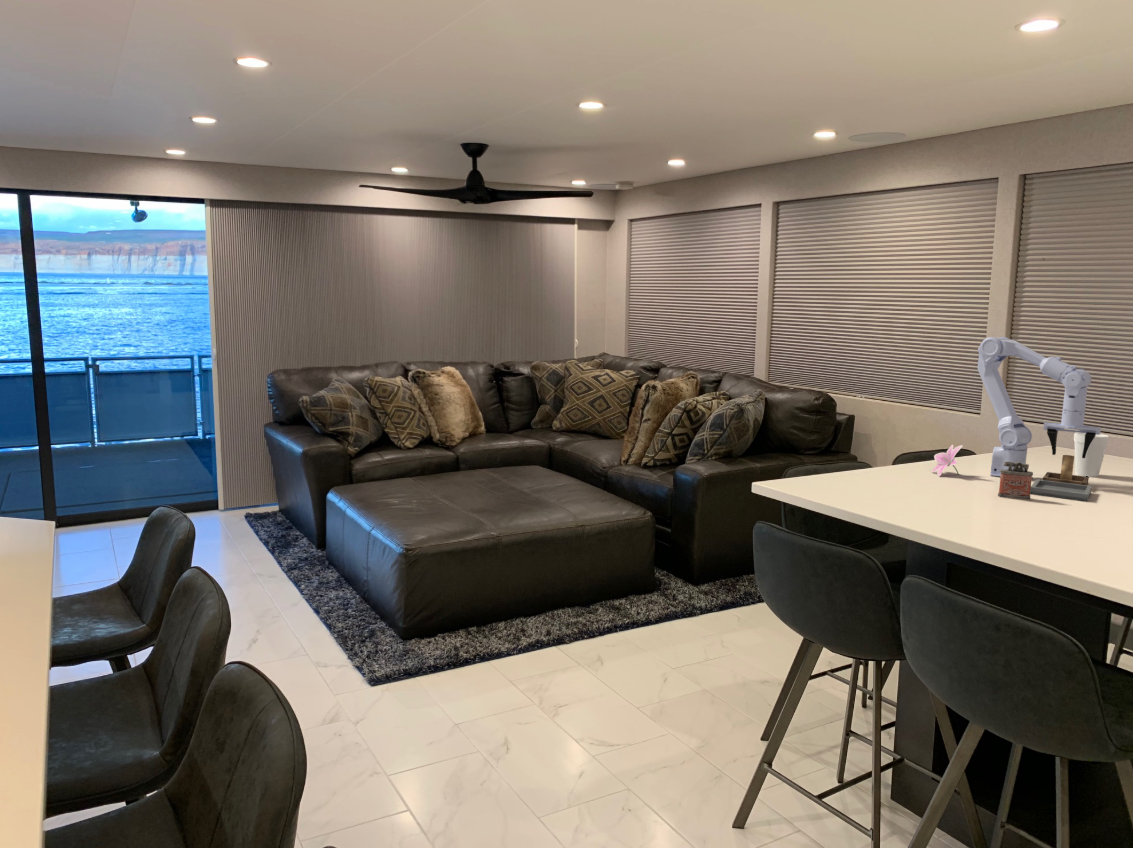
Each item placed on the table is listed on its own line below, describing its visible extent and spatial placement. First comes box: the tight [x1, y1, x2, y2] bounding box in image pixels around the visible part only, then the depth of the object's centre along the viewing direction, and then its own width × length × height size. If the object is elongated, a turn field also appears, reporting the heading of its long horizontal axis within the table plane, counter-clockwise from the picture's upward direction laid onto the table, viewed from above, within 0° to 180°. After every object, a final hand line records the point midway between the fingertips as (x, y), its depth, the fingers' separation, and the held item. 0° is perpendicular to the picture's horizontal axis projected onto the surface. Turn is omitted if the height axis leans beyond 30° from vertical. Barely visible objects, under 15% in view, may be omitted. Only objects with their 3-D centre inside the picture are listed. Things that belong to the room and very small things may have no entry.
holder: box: [1042, 471, 1090, 486], centre depth 256 cm, size 11×11×2 cm
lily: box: [930, 444, 963, 477], centre depth 268 cm, size 12×12×10 cm
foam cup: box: [1073, 432, 1110, 478], centre depth 273 cm, size 10×9×13 cm
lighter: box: [997, 462, 1034, 501], centre depth 238 cm, size 8×3×10 cm, turn 71°
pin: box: [1060, 454, 1075, 480], centre depth 256 cm, size 3×3×9 cm
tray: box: [1030, 478, 1092, 503], centre depth 245 cm, size 14×14×2 cm
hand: (1068, 456), depth 255 cm, fingers open, 7 cm apart
